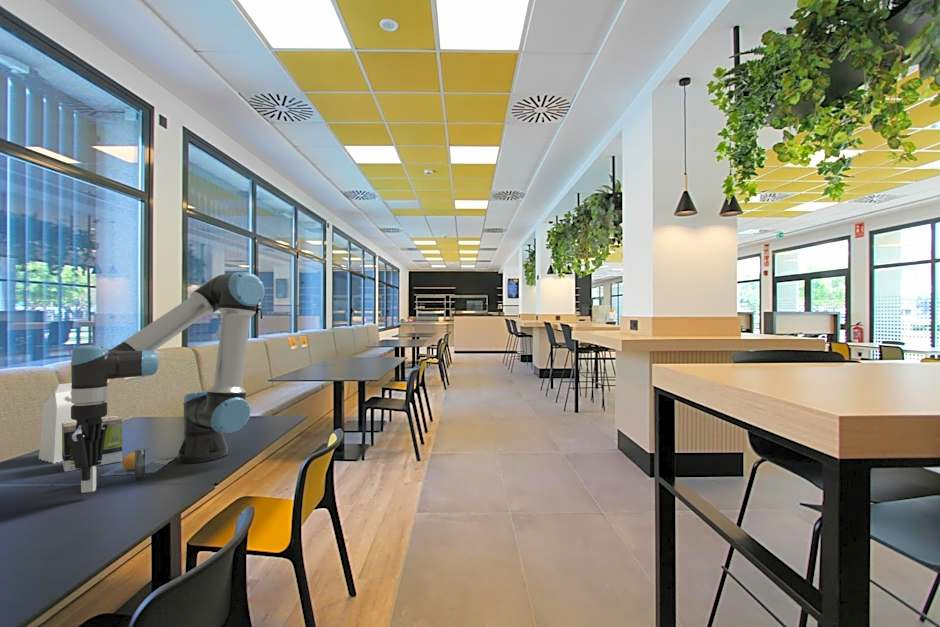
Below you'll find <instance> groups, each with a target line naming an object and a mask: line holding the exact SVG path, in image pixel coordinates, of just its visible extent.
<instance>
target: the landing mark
mask: <svg viewBox="0 0 940 627" xmlns="http://www.w3.org/2000/svg"><path fill="white" fill-rule="evenodd" d="M154 462H155V461H153V462H150V463H149V464H147V465H146V466H145V474H156V472H158V471H160V470H161V469H163V468H165V467H166V466H167V465H168V464H160V463H154ZM165 465H166V466H165ZM162 467H163V468H162ZM159 469H160V470H159ZM127 474H130V475H135V470H131V471H130V470H126V469H125V468H124V467H123V465H122V463H121V464H119V465H118V466H116V467H114V468H112V469H110V470H108V471H107V472H105V473H103V474H102V475H100V476H101V477H112V476H113V475H116V476H128V475H127ZM113 477H114V476H113Z"/></svg>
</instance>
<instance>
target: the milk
mask: <svg viewBox="0 0 940 627" xmlns="http://www.w3.org/2000/svg"><path fill="white" fill-rule="evenodd" d="M71 385H72V382H69V383H58V384H56V387H55V389H54V391H53V393H52V394H51V395H50V396H49V398H47V400H46V401H45V402H44V405H43V406H42V407H43V408H42V418H41V429H40V441H39V452H38V454H39V455H38V460H40V459H41V461H44V460H45V461H44V462H47V461H48V463H50V462H52V463H51V464H57V463H56V462H58V463H62V462H61V461H62V423H64V422H72V421H76V420H73V419H71V407H72V405H74V404H73V403H71V394H70V393H71V390H72V388H71Z"/></svg>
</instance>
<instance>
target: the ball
mask: <svg viewBox="0 0 940 627" xmlns="http://www.w3.org/2000/svg"><path fill="white" fill-rule="evenodd" d="M121 464H122V465H123V467H124V468H125V469H126V470H130V471H131V470H135V452H130V453H128V454H127V455H125V456H124V457H123V458H122V461H121Z"/></svg>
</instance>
